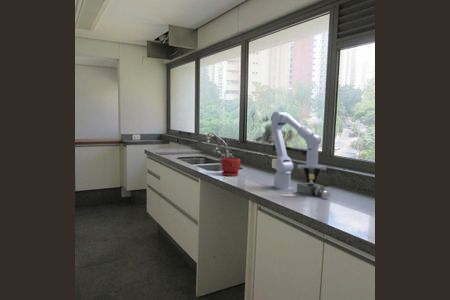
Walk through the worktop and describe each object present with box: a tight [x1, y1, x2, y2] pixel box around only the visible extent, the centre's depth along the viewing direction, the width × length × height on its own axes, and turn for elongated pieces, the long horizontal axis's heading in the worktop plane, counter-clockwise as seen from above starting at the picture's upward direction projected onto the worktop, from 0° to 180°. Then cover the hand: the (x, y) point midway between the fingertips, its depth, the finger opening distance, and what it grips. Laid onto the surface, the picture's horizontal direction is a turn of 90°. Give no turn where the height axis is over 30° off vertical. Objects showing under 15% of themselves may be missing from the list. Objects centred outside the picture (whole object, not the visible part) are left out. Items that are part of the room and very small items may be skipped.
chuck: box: [296, 182, 331, 198], centre depth 167 cm, size 18×10×5 cm, turn 26°
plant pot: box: [221, 157, 241, 177], centre depth 222 cm, size 13×13×12 cm
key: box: [308, 173, 315, 186], centre depth 170 cm, size 3×3×7 cm
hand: (310, 182), depth 170 cm, fingers closed on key, 3 cm apart
